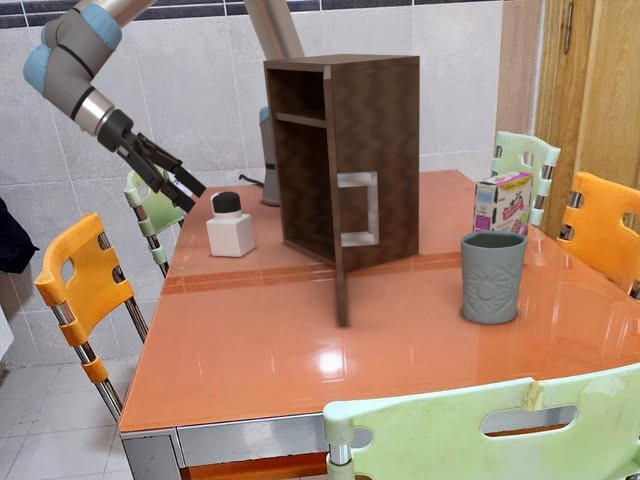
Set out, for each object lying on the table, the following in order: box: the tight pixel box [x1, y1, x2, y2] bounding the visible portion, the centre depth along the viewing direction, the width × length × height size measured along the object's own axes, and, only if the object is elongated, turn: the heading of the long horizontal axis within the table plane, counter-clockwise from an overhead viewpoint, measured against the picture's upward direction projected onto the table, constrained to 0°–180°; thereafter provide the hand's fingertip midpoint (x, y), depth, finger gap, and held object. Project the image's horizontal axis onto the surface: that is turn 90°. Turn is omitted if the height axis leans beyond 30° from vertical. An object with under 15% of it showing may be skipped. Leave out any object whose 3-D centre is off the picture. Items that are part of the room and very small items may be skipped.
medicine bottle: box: [205, 190, 256, 258], centre depth 138 cm, size 7×7×12 cm
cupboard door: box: [323, 66, 379, 327], centre depth 105 cm, size 7×26×34 cm, turn 2°
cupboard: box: [262, 53, 421, 273], centre depth 129 cm, size 18×26×34 cm
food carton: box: [472, 171, 534, 238], centre depth 118 cm, size 11×5×16 cm, turn 135°
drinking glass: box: [460, 231, 528, 325], centre depth 103 cm, size 10×10×12 cm
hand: (198, 200), depth 135 cm, fingers open, 13 cm apart
